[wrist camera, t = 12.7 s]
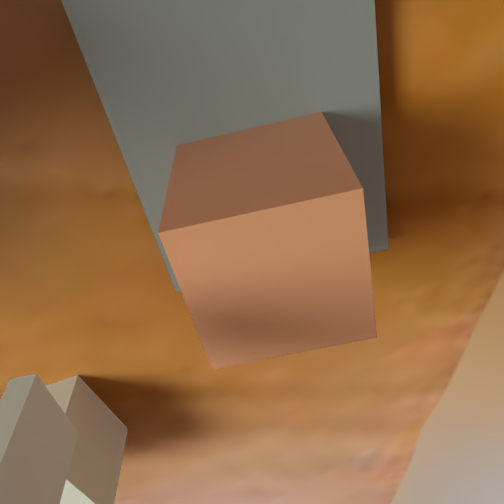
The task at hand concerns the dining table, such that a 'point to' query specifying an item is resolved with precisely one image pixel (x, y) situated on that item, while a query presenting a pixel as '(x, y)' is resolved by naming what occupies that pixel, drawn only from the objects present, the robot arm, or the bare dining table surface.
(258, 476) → the dining table surface
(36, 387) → the robot arm
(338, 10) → the board
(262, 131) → the tan cardboard-coloured cube
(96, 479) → the white cube
